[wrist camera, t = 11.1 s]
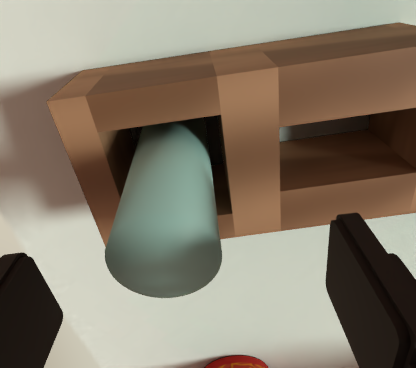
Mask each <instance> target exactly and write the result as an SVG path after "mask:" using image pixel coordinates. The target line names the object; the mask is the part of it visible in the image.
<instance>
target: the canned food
mask: <svg viewBox="0 0 416 368" xmlns="http://www.w3.org/2000/svg"><path fill="white" fill-rule="evenodd" d="M205 368H268V366H267V365H266V364H265V363H264V362H263V361H261V360H259V359H257V358H254V357H250V356H243V355H236V356H228V357H224V358H220V359H218V360H215V361H213V362H212V363H210V364H208V365H207V366H206V367H205Z"/></svg>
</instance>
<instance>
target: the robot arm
mask: <svg viewBox="0 0 416 368" xmlns="http://www.w3.org/2000/svg"><path fill="white" fill-rule="evenodd" d="M326 288H327V292H328V294H329V297H330V299H331V302H332V304H333V306H334V309H335V311H336V313H337V316H338V318H339V320H340V323H341V325H342V328H343V330H344V332H345V335H346V337H347V339H348V342H349V344H350V347H351V349H352V351H353V354H354V356H355V358H356V361H357V363H358V365H359V368H416V279H415V278H414V277H413V275H412V274H411V273H410V271H409V270H408V269H407V267H406V266H405V265H404V263H403V262H402V261H401V259H400V258H399V257H398V256H397V255H395V254H393V253H392V254H388V253H387V252H386V251H385V249H384V248H383V246H382V245H381V244H380V242H379V241H378V239H377V238H376V237H375V235H374V234H373V232H372V231H371V229H370V228H369V227H368V225H367V224H366V222H365V221H364V220H363V218H362V217H361V215H360V214H359V213H357V212H356V213H348V214H339V215H337V217H336V220H332V221H331V223H330V233H329V246H328V259H327V271H326ZM62 319H63V312H62V310H61V308H60V306H59V304H58V303H57V301H56V299H55V297H54V295H53V294H52V292H51V290H50V288H49V287H48V285H47V283H46V281H45V280H44V278H43V276H42V274H41V272H40V271H39V269H38V267H37V265H36V264H35V262H34V260H33V259H32V258H31V257H28V256H27V254H25V253H15V254H7V255H3V256H2V257H1V258H0V368H44V365H45V363H46V360H47V358H48V355H49V353H50V350H51V348H52V345H53V343H54V340H55V338H56V336H57V333H58V331H59V328H60V326H61V324H62Z"/></svg>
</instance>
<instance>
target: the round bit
mask: <svg viewBox="0 0 416 368" xmlns="http://www.w3.org/2000/svg"><path fill="white" fill-rule="evenodd" d="M105 260H106V264H107V267H108V269H109V271H110V273H111V274H112V276H113V277H114V278H115V279H116V280H117V281H118V282H119V283H120V284H122V285H123V286H124V287H126V288H128V289H129V290H131V291H134V292H136V293H139V294H142V295H145V296H150V297H157V298H172V297H179V296H184V295H187V294H190V293H193V292H195V291H197V290H199V289H201V288H203V287H204V286H206V285H207V284H208V283H209V282H210V281H211V280H212V279H213V278H214V277H215V276H216V274H217V273H218V271H219V269H220V266H221V262H222V250H221V242H220V234H219V226H218V218H217V210H216V202H215V194H214V186H213V178H212V170H211V162H210V154H209V146H208V138H207V130H206V124H205V121H204V119H203V117H201V118H194V119H188V120H181V121H174V122H167V123H160V124H153V125H146V126H143V128H142V131H141V134H140V137H139V141H138V144H137V147H136V151H135V154H134V157H133V160H132V164H131V167H130V170H129V173H128V177H127V180H126V183H125V186H124V190H123V193H122V196H121V199H120V203H119V206H118V209H117V212H116V216H115V219H114V222H113V225H112V229H111V232H110V235H109V238H108V242H107V245H106V249H105Z"/></svg>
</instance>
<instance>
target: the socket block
mask: <svg viewBox="0 0 416 368" xmlns="http://www.w3.org/2000/svg"><path fill="white" fill-rule="evenodd" d="M47 105H48V107H49V110H50V112H51V115H52V117H53V120H54V122H55V124H56V127H57V129H58V132H59V134H60V137H61V139H62V142H63V144H64V146H65V149H66V151H67V154H68V156H69V159H70V161H71V163H72V166H73V168H74V171H75V173H76V176H77V178H78V181H79V183H80V185H81V188H82V190H83V193H84V195H85V198H86V200H87V203H88V205H89V207H90V210H91V212H92V215H93V217H94V220H95V222H96V225H97V227H98V229H99V232H100V234H101V237H102V239H103V242H104V244H105V247H106V245H107V242H108V238H109V235H110V232H111V229H112V225H113V222H114V219H115V216H116V212H117V209H118V206H119V203H120V199H121V196H122V193H123V190H124V186H125V183H126V180H127V177H128V173H129V170H130V167H131V164H132V160H133V157H134V154H135V147H134V144H133V140H132V137H131V133H130V130H129V128H133V127H140V126H146V125H153V124H160V123H167V122H174V121H181V120H188V119H194V118H201V117H208V116H215V115H217V118H218V126H219V134H220V143H221V151H222V159H223V164H218V165H211V170H212V178H213V186H214V194H215V202H216V210H217V218H218V226H219V234H220V239H225V238H232V237H240V236H247V235H254V234H262V233H269V232H277V231H284V230H291V229H299V228H306V227H313V226H321V225H328V224H330V223H331V221H332V220H336V217H337V215H339V214H348V213H356V212H357V213H359V214H360V215H361V217H362V218H363V220H365V219H372V218H380V217H387V216H394V215H402V214H409V213H416V26H414V25H409V24H404V23H393V24H386V25H380V26H373V27H367V28H360V29H353V30H347V31H340V32H334V33H327V34H320V35H314V36H307V37H301V38H294V39H287V40H281V41H274V42H268V43H261V44H254V45H248V46H241V47H235V48H228V49H221V50H215V51H208V52H201V53H195V54H188V55H182V56H175V57H168V58H162V59H155V60H149V61H142V62H135V63H129V64H122V65H116V66H109V67H102V68H96V69H89V70H83V71H81V72H80V73H79V74H78V75H77V76H76V77H74V78H73V79H72V80H71V81H70V82H69V83H67V84H66V85H65V86H64V87H63V88H62V89H61V90H59V91H58V92H57V93H56V94H55V95H54V96H52V97H51V98H50V99H49V100H48V101H47ZM368 114H370V121H369V128H368V130H362V131H355V132H348V133H341V134H334V135H327V136H320V137H313V138H306V139H299V140H292V141H285V142H279V127H285V126H292V125H299V124H306V123H313V122H319V121H326V120H333V119H340V118H347V117H354V116H361V115H368Z"/></svg>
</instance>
